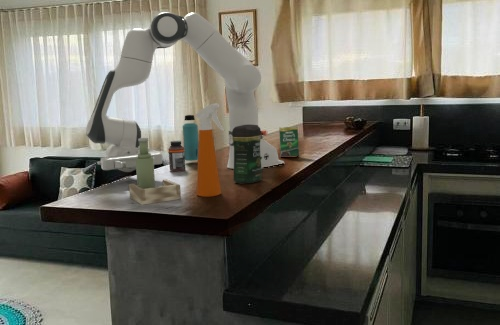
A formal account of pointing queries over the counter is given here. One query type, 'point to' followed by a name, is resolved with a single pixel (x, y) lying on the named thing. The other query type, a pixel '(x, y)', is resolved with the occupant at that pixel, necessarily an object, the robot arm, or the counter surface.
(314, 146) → the counter surface
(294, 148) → the coffee box
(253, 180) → the coffee jar
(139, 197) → the u rest
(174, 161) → the supplement bottle
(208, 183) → the spray bottle
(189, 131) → the beverage bottle
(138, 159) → the bottle
